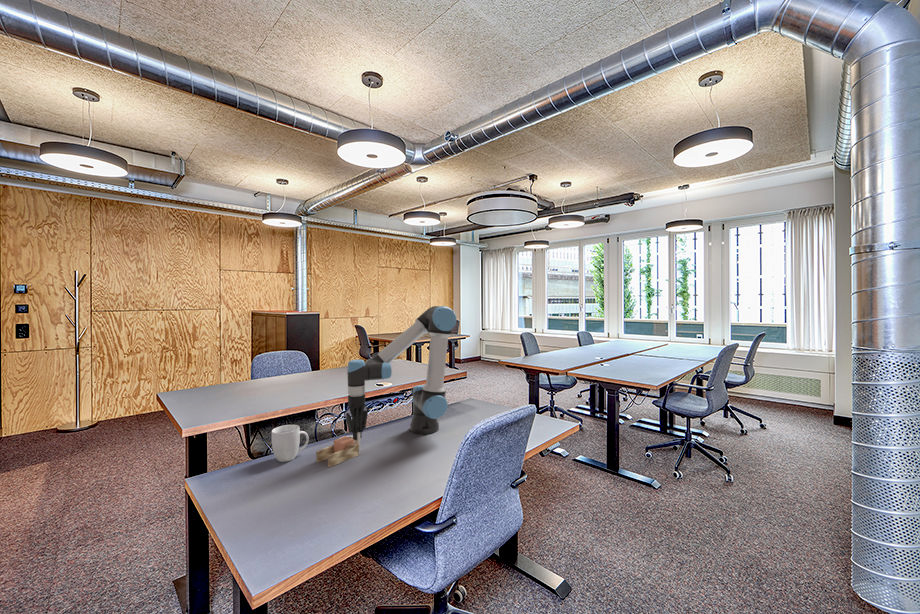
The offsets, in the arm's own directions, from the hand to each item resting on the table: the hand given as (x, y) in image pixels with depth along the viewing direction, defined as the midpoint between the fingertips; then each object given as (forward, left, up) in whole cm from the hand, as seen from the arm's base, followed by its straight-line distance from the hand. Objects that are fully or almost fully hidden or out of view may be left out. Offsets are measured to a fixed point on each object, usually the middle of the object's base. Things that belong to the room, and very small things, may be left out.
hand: (357, 446), depth 169 cm
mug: (+22, -18, -2) cm, 29 cm away
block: (+7, 0, -2) cm, 8 cm away
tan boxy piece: (+10, 0, -2) cm, 10 cm away
